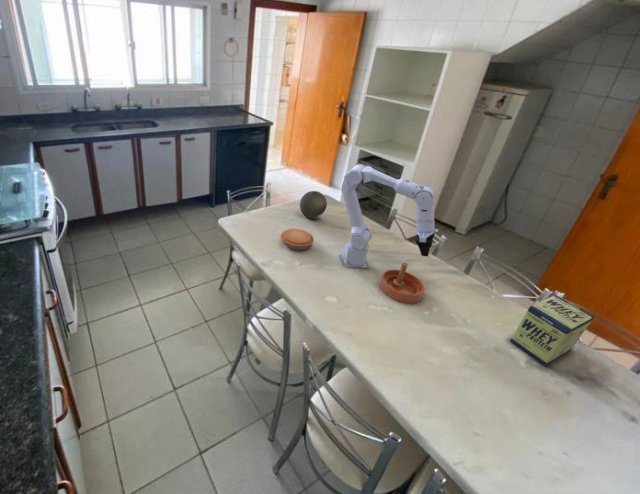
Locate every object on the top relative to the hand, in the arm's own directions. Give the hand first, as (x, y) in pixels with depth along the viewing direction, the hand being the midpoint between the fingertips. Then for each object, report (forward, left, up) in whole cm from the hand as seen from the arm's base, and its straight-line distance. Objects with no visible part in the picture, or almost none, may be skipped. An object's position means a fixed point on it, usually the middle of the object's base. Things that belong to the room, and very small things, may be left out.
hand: (426, 251), depth 126 cm
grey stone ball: (-35, +53, -17) cm, 65 cm away
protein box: (+29, -27, -17) cm, 44 cm away
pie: (-46, +25, -17) cm, 54 cm away
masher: (-8, -2, -16) cm, 18 cm away
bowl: (-8, -4, -16) cm, 19 cm away
